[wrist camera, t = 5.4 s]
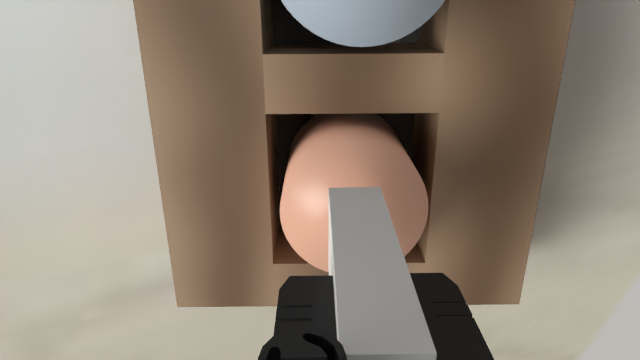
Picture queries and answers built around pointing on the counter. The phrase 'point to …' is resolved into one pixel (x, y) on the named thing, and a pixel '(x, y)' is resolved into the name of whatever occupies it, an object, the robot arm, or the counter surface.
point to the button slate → (362, 19)
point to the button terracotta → (347, 180)
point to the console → (349, 98)
